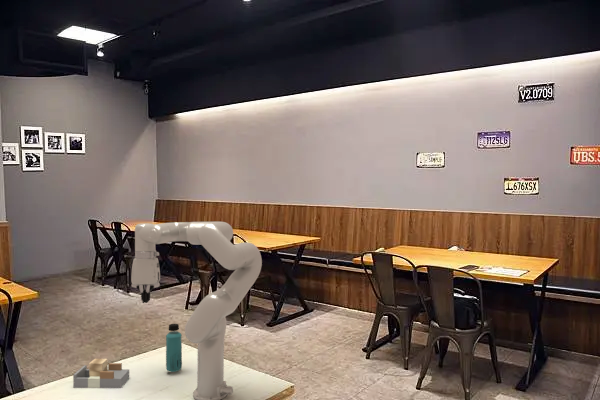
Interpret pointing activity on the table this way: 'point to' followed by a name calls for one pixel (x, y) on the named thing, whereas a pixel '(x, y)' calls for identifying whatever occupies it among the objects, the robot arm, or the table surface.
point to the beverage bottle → (173, 349)
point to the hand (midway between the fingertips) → (145, 302)
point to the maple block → (98, 366)
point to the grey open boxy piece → (101, 377)
